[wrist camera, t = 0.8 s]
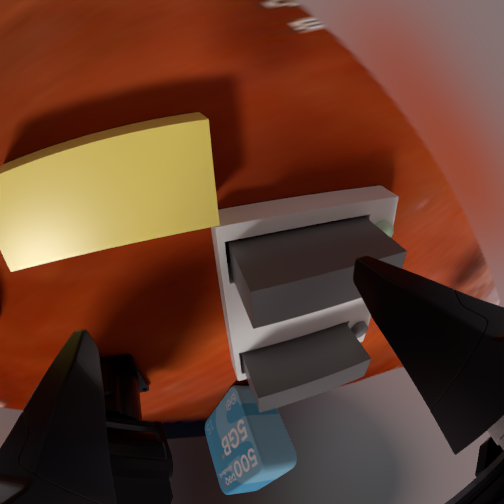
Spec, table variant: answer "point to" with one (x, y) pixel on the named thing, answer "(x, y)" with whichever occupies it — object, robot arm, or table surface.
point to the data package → (247, 443)
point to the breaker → (304, 366)
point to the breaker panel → (283, 218)
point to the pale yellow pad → (108, 190)
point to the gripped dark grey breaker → (305, 268)
